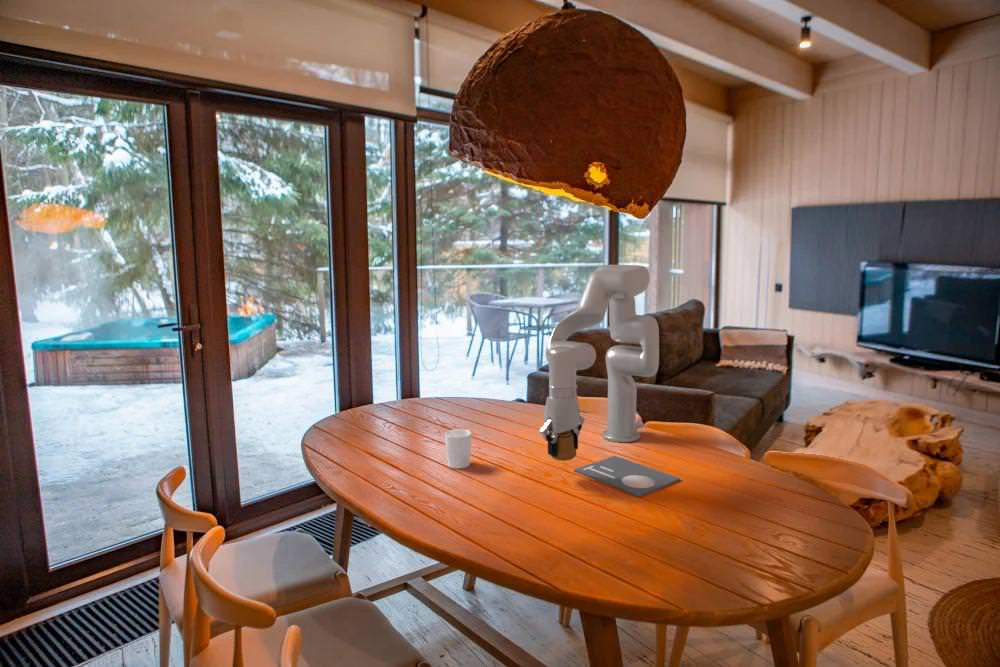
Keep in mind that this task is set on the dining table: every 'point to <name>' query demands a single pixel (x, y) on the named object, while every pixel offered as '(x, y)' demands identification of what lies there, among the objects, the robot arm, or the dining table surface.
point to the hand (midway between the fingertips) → (563, 451)
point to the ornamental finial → (565, 446)
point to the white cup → (458, 448)
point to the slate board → (627, 475)
